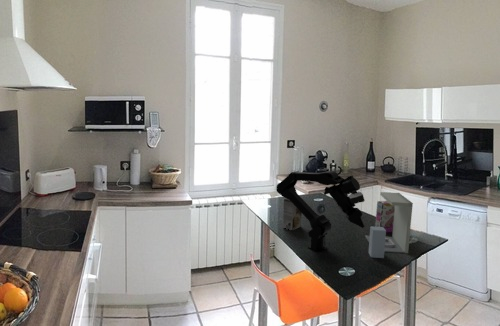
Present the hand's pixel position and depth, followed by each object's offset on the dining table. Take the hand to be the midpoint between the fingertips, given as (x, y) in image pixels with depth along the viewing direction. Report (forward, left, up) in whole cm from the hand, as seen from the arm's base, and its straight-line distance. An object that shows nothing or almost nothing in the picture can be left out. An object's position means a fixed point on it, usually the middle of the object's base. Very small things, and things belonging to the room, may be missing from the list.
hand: (360, 223), depth 165 cm
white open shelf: (+20, -2, -14) cm, 24 cm away
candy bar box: (+38, +8, -14) cm, 41 cm away
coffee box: (+1, +42, -14) cm, 45 cm away
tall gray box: (+4, -7, -14) cm, 16 cm away
